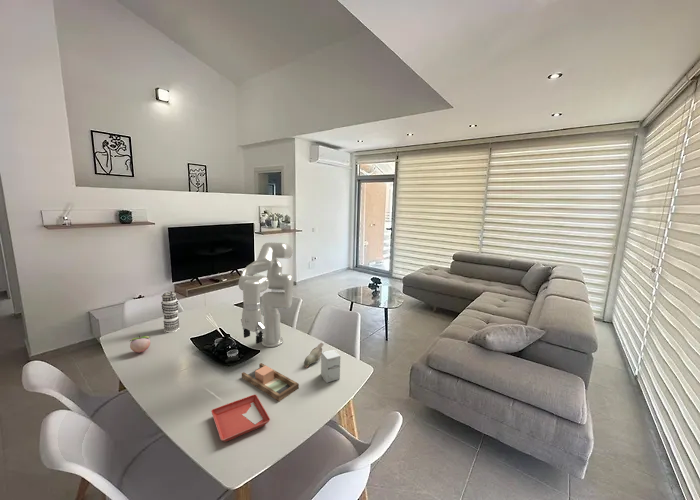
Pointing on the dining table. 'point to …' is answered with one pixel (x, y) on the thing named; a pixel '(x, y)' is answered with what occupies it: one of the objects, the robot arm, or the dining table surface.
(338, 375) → the supplement box
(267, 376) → the terracotta block
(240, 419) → the red shallow tray
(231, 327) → the dining table surface
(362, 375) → the dining table surface
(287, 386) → the wooden tray
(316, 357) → the decorative bird
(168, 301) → the model tower building
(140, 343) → the decorative fruit
